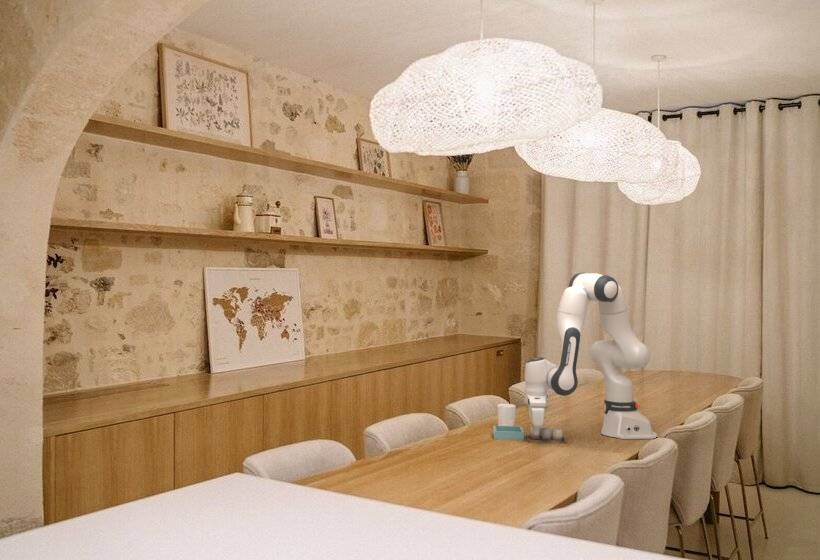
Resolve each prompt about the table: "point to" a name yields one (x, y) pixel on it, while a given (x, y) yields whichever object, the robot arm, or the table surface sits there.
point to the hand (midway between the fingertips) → (535, 433)
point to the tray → (544, 440)
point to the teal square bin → (508, 432)
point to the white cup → (506, 414)
